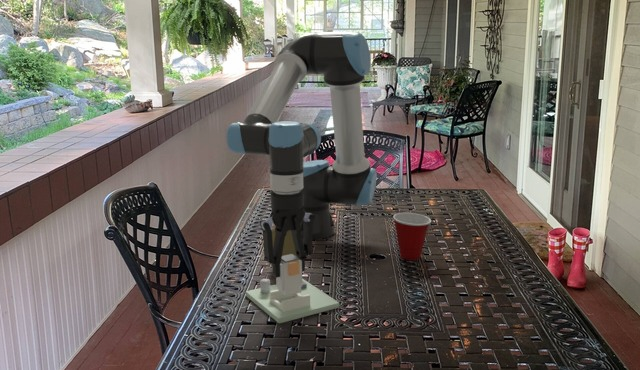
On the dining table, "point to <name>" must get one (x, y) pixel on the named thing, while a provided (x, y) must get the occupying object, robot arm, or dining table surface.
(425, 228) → the plastic cup
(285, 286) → the plug
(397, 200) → the dining table surface
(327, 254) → the dining table surface
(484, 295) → the dining table surface
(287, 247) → the squeeze bottle
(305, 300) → the board
